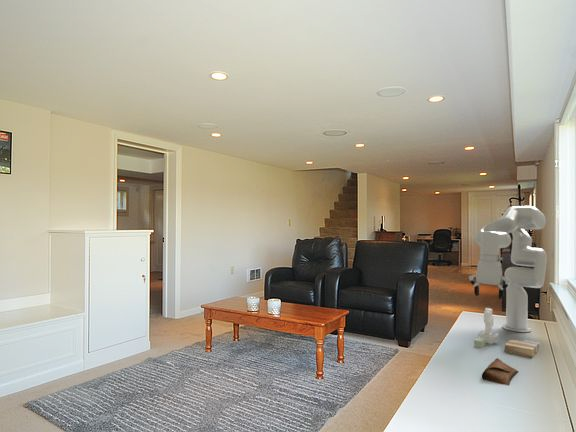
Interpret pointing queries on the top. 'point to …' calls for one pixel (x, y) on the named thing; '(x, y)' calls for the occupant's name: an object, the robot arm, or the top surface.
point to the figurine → (488, 327)
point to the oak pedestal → (521, 348)
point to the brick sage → (480, 342)
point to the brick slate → (533, 342)
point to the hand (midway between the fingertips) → (488, 297)
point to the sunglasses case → (499, 372)
